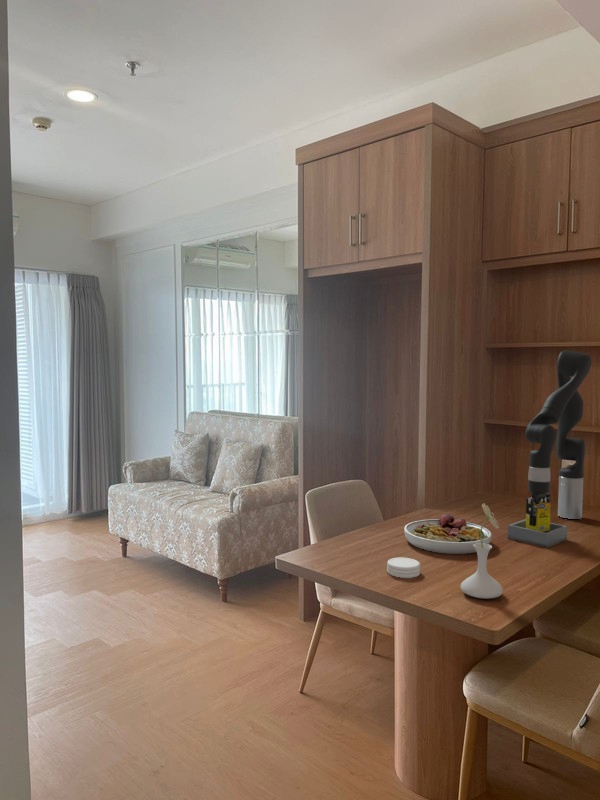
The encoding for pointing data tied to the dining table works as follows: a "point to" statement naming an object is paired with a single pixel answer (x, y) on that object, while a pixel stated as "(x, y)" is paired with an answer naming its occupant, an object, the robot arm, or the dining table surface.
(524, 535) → the box
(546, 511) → the supplement box
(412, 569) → the coaster
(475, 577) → the flower in vase
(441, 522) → the bowl
